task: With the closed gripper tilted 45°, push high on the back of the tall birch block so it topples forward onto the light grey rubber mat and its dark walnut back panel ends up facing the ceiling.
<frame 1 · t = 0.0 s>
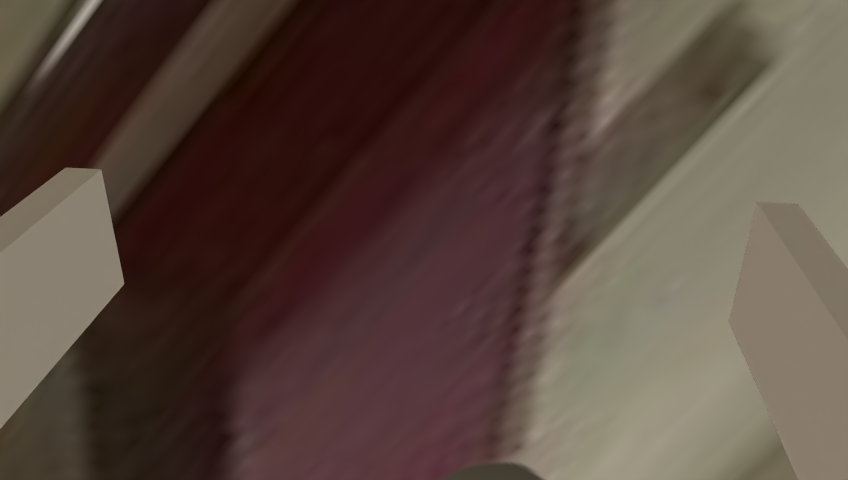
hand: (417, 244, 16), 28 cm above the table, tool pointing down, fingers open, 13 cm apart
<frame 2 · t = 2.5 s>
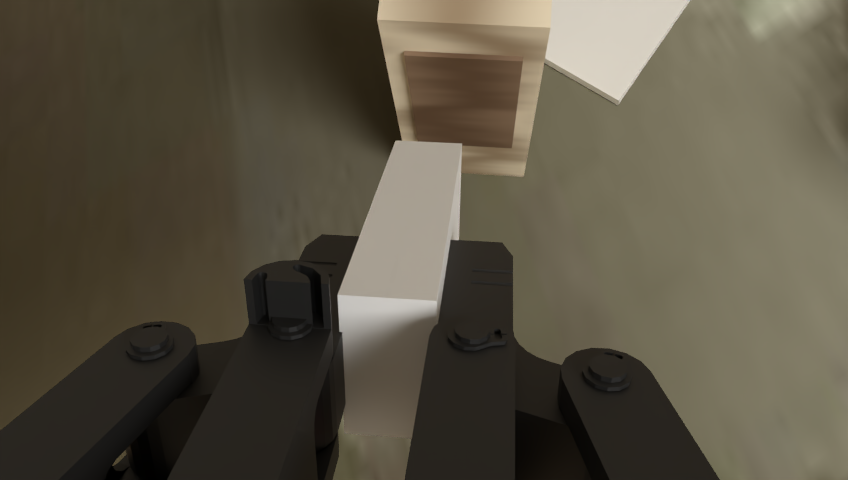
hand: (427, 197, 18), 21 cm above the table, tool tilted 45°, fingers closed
birch block: (469, 120, 41), on the table
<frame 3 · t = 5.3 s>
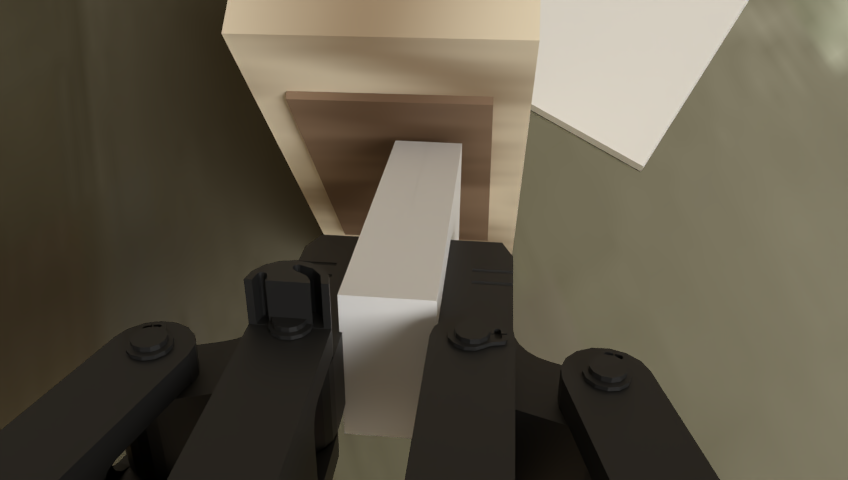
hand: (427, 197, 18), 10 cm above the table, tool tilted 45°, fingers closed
birch block: (430, 195, 29), on the table
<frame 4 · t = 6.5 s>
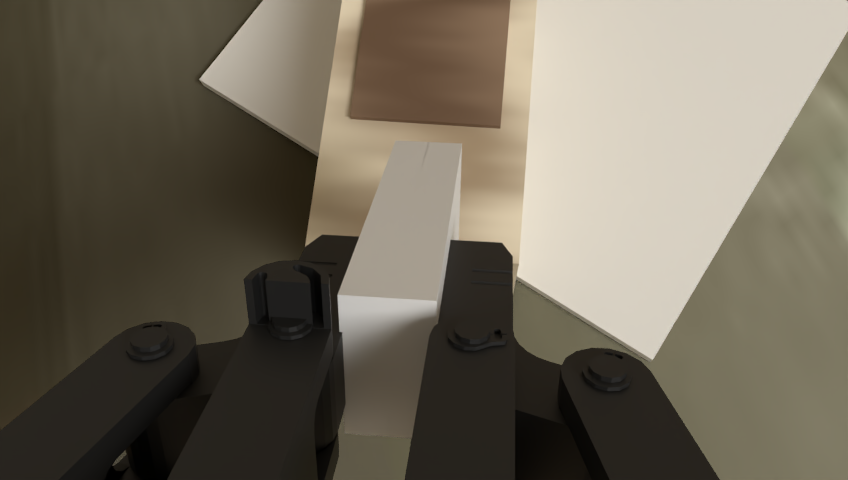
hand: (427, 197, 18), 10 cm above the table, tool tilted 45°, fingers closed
mat: (523, 50, 30), on the table
birch block: (418, 280, 24), point 3 cm above the table, tilted 90°, touching mat
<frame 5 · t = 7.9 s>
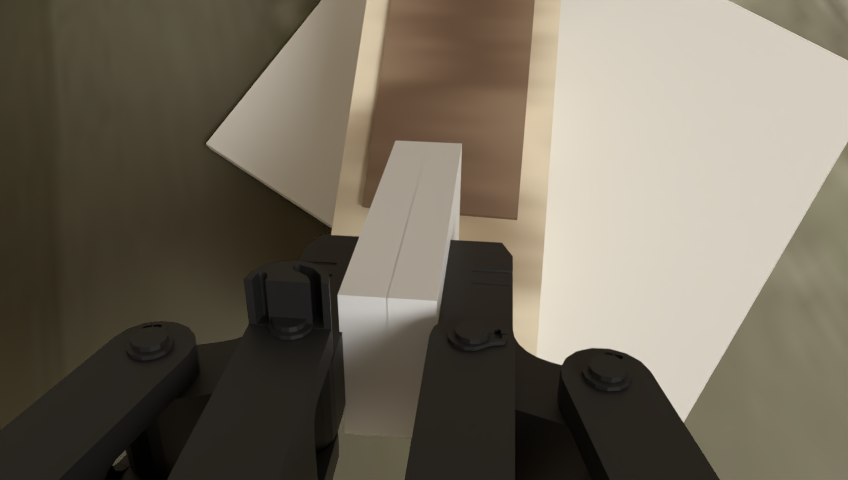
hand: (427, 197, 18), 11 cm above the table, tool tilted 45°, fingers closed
mat: (537, 117, 30), on the table
birch block: (430, 368, 24), point 3 cm above the table, tilted 90°, touching mat
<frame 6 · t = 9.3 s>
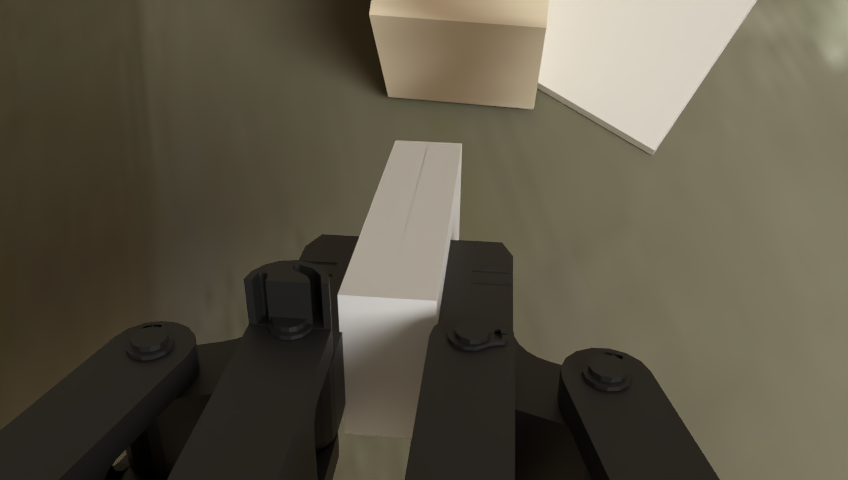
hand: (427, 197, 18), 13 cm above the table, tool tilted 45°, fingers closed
birch block: (458, 66, 29), point 3 cm above the table, tilted 90°, touching mat
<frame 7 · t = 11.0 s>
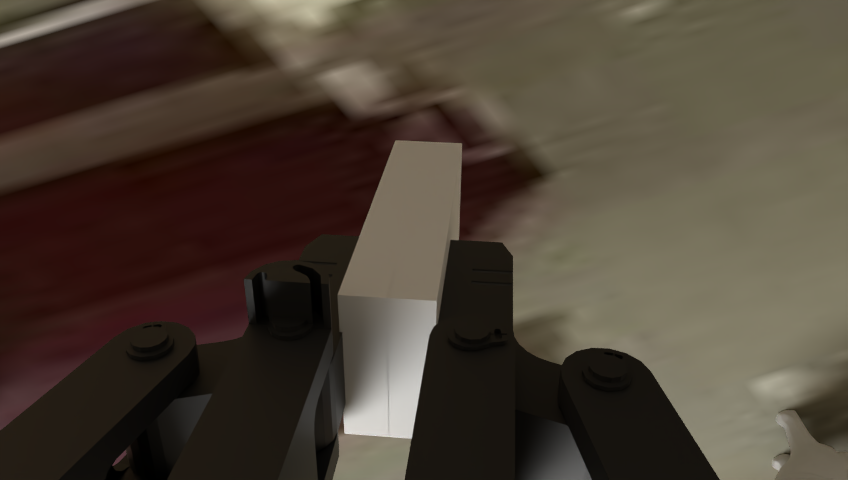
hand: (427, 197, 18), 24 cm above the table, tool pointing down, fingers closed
dog figurine: (818, 439, 50), on the table
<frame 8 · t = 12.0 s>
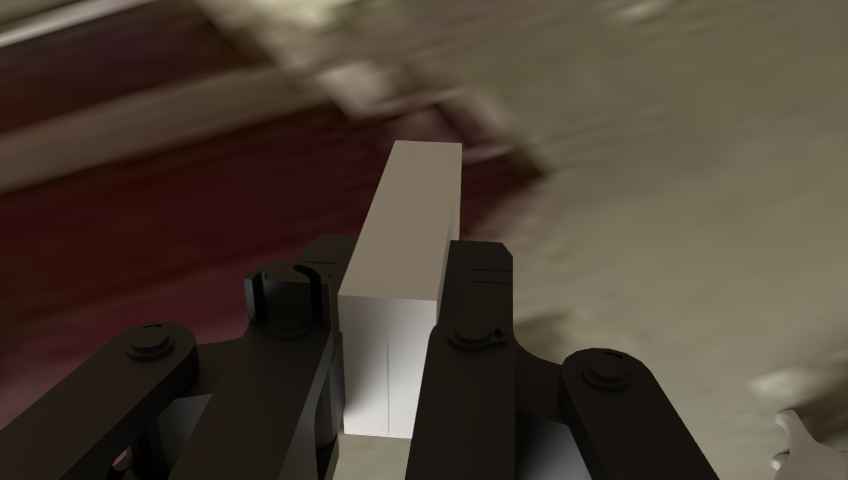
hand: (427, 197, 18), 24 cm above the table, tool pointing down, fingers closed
dog figurine: (817, 439, 50), on the table
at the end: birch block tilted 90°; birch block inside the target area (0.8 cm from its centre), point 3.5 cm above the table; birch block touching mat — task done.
